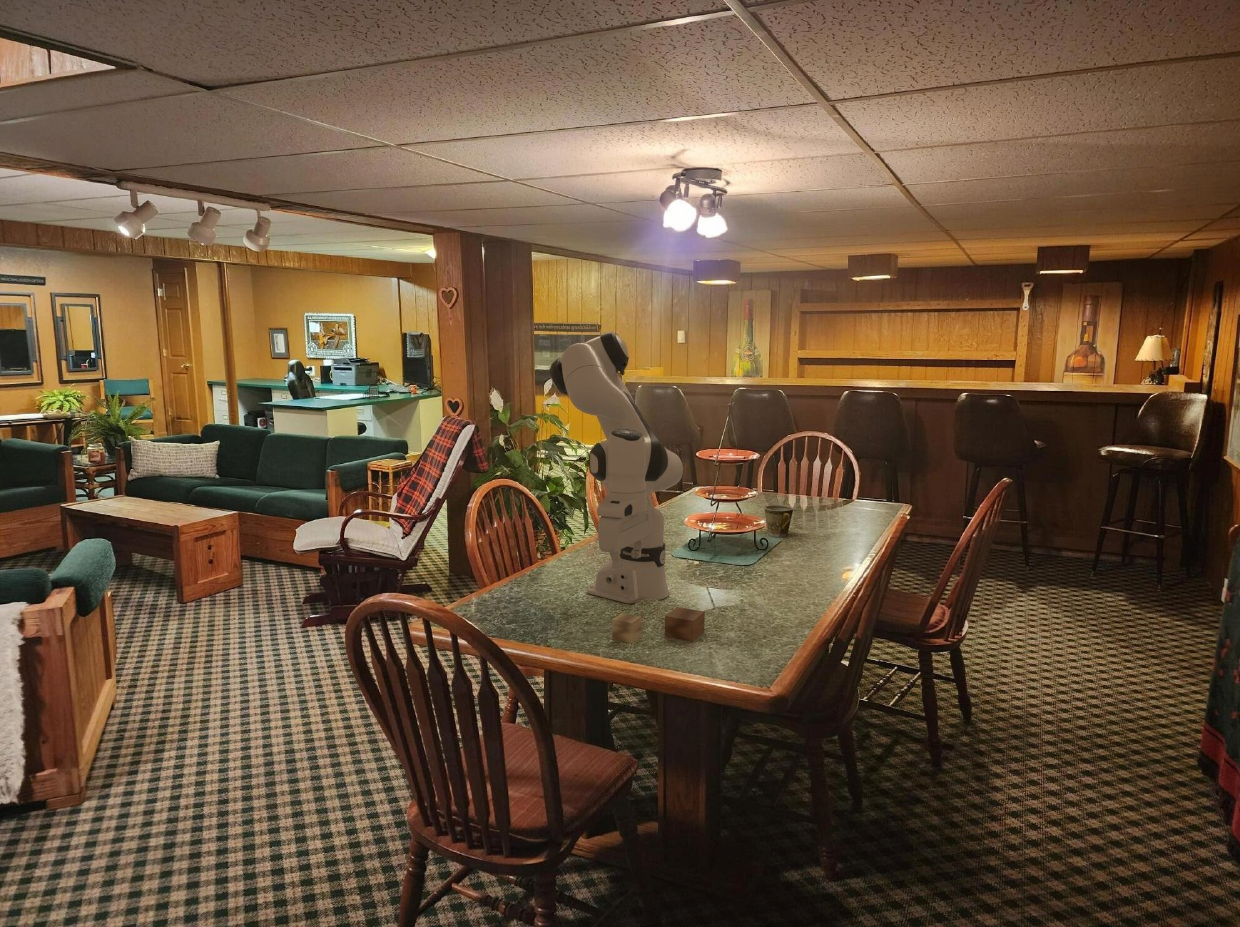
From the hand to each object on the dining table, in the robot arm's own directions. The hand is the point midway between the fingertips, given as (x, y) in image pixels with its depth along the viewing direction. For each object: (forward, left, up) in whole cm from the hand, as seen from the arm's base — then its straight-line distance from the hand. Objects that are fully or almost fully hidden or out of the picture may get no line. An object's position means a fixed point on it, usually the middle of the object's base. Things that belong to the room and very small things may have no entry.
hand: (627, 562), depth 181 cm
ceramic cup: (+3, +116, -19) cm, 118 cm away
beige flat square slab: (+11, +8, -19) cm, 23 cm away
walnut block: (+11, +8, -18) cm, 22 cm away
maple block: (0, 0, -19) cm, 19 cm away
